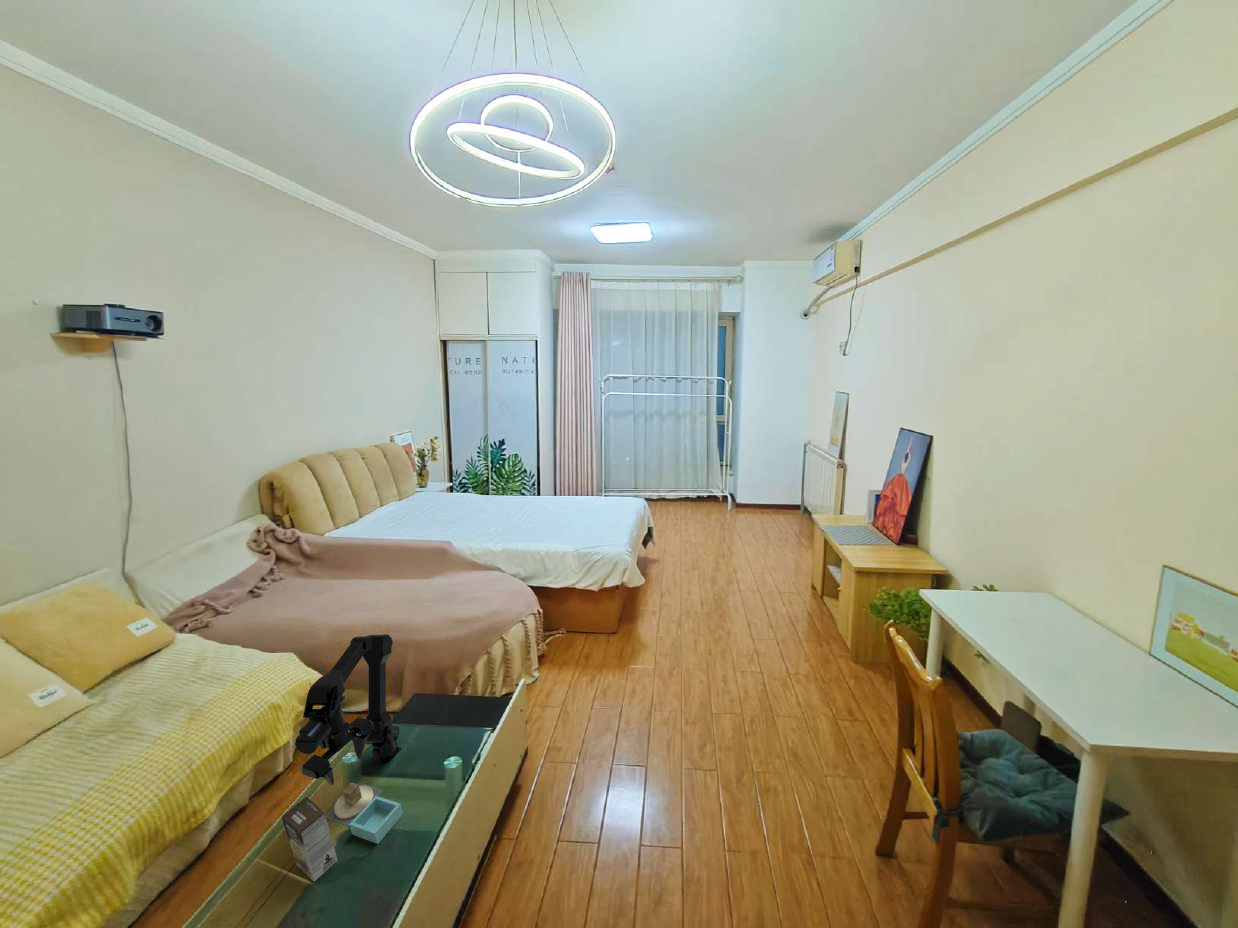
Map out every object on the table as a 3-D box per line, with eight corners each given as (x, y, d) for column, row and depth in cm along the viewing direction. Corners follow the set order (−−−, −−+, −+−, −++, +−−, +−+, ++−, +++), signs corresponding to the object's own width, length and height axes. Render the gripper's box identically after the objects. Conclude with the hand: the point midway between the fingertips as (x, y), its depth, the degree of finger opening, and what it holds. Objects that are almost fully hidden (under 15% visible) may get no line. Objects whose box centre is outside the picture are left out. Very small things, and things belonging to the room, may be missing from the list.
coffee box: (295, 866, 130) (279, 815, 126) (320, 844, 135) (306, 795, 131) (314, 884, 125) (298, 832, 121) (339, 861, 130) (325, 810, 126)
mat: (359, 783, 154) (358, 781, 153) (384, 791, 150) (384, 789, 150) (324, 818, 143) (323, 816, 143) (350, 828, 139) (349, 826, 139)
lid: (355, 784, 153) (352, 769, 151) (381, 792, 149) (377, 777, 148) (326, 813, 144) (322, 798, 142) (352, 823, 140) (348, 807, 139)
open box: (378, 806, 145) (376, 795, 144) (403, 815, 142) (400, 803, 141) (352, 835, 137) (349, 824, 136) (378, 845, 134) (374, 833, 133)
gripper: (340, 695, 151) (352, 739, 155) (280, 743, 134) (295, 791, 138) (369, 702, 147) (380, 747, 151) (310, 752, 130) (324, 802, 134)
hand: (346, 770), depth 144 cm, fingers open, 9 cm apart
